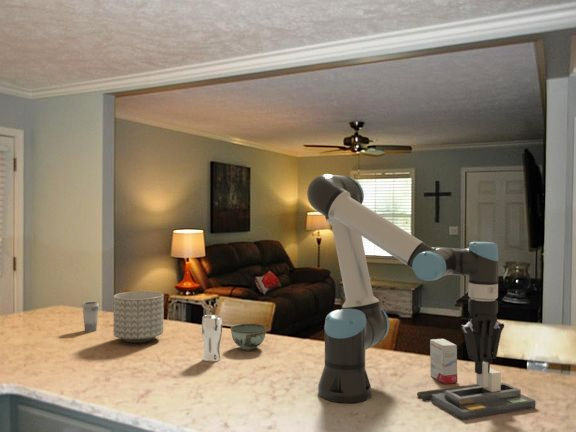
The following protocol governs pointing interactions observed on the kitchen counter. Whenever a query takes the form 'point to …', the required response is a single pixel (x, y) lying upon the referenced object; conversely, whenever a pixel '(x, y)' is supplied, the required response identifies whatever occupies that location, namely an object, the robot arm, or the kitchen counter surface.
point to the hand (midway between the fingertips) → (482, 385)
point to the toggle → (493, 382)
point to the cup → (90, 315)
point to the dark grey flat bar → (440, 391)
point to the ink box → (443, 360)
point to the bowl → (248, 335)
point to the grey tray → (482, 401)
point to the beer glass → (211, 337)
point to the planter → (138, 315)
